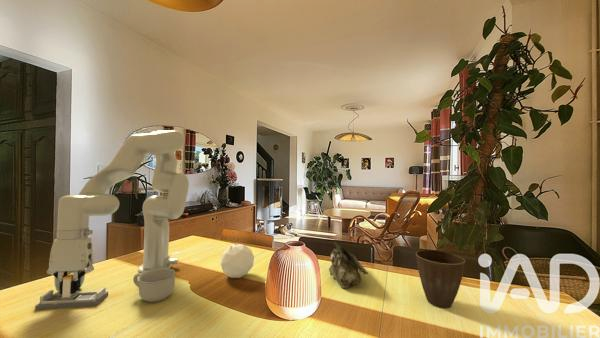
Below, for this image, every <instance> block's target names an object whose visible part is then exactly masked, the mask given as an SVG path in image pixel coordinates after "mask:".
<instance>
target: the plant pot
mask: <svg viewBox="0 0 600 338" xmlns="http://www.w3.org/2000/svg"><path fill="white" fill-rule="evenodd" d="M415 257H416V264H417V269H418V275H419V279H420V283H421V286H422V287H421V288H422V290H423V294H424V295H425V298H426V300H427V302H428V303H429V304H430V305H432V306H435V308H436V307H437V308H440V309H449V308H451V307H452V306H453V305H454V304H453V303H454V302H455V300H456V298H457V294H458V292H459V290H460V288H461V287H460V286H461V283H462V280H463V275H464V270H465V264H466V259H464V258H463V257H461V256H459V255H457V254H454V253H451V252H447V251H442V250H436V249H432V250H431V249H423V250H417V251H416V252H415Z"/></svg>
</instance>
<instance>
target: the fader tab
mask: <svg viewBox="0 0 600 338" xmlns="http://www.w3.org/2000/svg"><path fill="white" fill-rule="evenodd" d="M72 281H73V273H70V274H68V275H67V276H65V277H63V292H62V297H60V300H72V299H73V298H75V297H76V296H77V295H79V292H81V291H80V290H78V291H77V292H75V293H74V294H71V293H70V292H71V282H72Z"/></svg>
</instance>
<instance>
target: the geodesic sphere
mask: <svg viewBox="0 0 600 338" xmlns="http://www.w3.org/2000/svg"><path fill="white" fill-rule="evenodd" d="M220 258H221V259H220V266H221V270H222V273H224V274H225V275H226V276H228V277H229V278H231V279H232V278H233V279H241V278H243V277H244V276H246V275H247V274H248V273H249V272H250V271H251V269H252V268H253V267H254V261H255V257H254V253H253V251H252V249H251V248H249V247H248V246H247V245H245V244H242V243H239V242H238V243H237V242H235V243H234V244H232V245H229V246H228V247H226V249H225V250H224V251H223V253H221V257H220Z"/></svg>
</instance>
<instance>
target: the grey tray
mask: <svg viewBox="0 0 600 338" xmlns="http://www.w3.org/2000/svg"><path fill="white" fill-rule="evenodd" d="M106 289H107V288H106V287H102V288H100V289H98V290H96V291H95V290H93V291H80V292H79V295H77V296H76V297H75V298H73V299H72V300H60V297H62V295H60V292H57V293H54V292H55V291H54V290H53V289H52V290H48V291H47V292H45V293H43V294H42V295H40V297H39V303H37V304H35V306H34V310H37V311H38V310H40V311H41V310H52V309H67V308H68V309H69V308H83V307H96V306H97V305H99V304H100V303H101V302H102V301H103V300H104V299H106V298H107V297H108V296H109V291H107V290H106Z"/></svg>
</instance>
